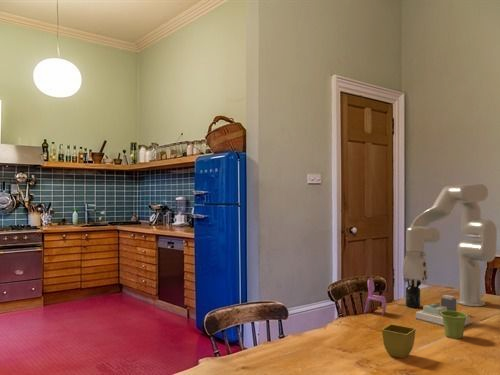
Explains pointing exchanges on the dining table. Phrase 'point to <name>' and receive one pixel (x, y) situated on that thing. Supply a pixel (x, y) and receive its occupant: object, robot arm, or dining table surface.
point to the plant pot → (453, 323)
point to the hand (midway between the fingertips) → (414, 294)
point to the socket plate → (435, 318)
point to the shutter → (434, 308)
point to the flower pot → (398, 340)
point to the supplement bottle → (412, 298)
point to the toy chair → (374, 297)
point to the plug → (449, 302)
